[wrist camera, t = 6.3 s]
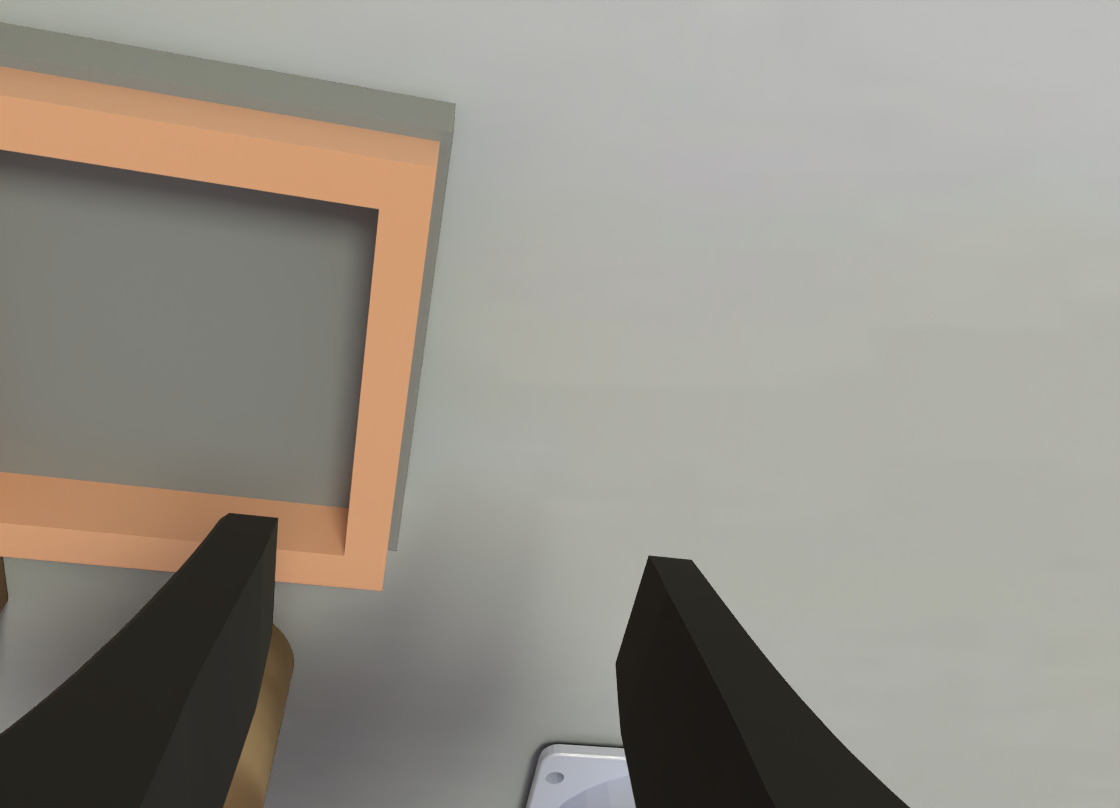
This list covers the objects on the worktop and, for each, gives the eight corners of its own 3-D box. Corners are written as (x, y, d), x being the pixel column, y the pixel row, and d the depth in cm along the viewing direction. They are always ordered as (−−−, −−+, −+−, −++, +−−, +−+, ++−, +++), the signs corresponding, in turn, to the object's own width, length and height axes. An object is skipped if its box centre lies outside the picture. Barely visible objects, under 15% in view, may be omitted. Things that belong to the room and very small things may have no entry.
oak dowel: (289, 718, 25) (221, 1039, 18) (134, 707, 25) (4, 1037, 18) (297, 608, 23) (225, 923, 16) (130, 593, 23) (-19, 915, 16)
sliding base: (402, 495, 22) (391, 599, 19) (-17, 450, 20) (-104, 555, 17) (455, 104, 17) (451, 156, 14) (-77, 8, 16) (-206, 45, 13)
